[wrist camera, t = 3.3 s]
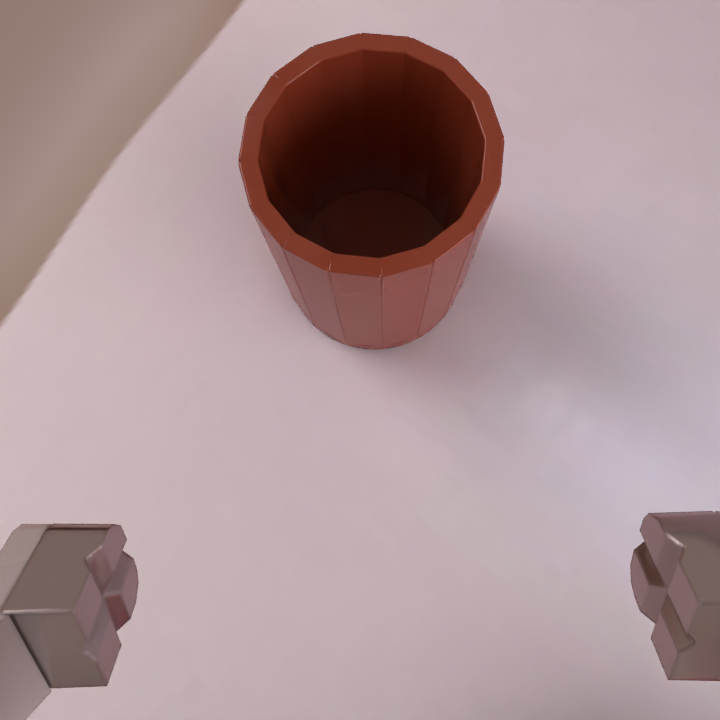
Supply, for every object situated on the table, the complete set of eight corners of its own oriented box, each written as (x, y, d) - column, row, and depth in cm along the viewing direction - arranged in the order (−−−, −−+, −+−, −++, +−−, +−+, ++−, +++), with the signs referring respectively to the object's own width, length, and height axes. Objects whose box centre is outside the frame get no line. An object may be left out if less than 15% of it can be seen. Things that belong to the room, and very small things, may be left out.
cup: (388, 152, 25) (391, -12, 17) (498, 277, 24) (558, 166, 16) (254, 252, 25) (188, 132, 16) (360, 385, 24) (347, 329, 15)
